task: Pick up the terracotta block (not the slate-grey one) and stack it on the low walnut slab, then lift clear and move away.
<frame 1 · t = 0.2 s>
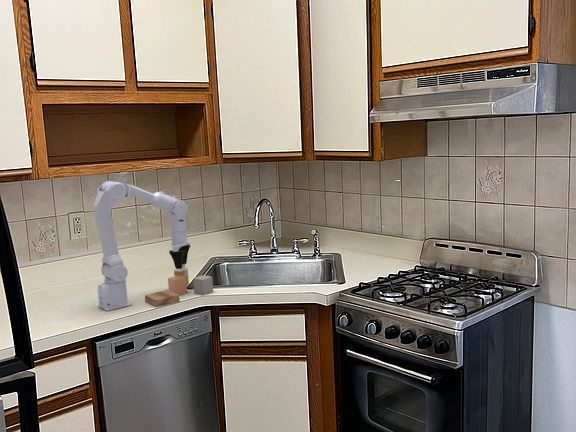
hand: (181, 266, 220), 10 cm above the worktop, tool pointing down, fingers open, 7 cm apart
terracotta block: (178, 293, 219), on the worktop
walnut slab: (162, 303, 208), on the worktop
supplement bottle: (182, 286, 228), on the worktop
slate block: (203, 292, 217), on the worktop
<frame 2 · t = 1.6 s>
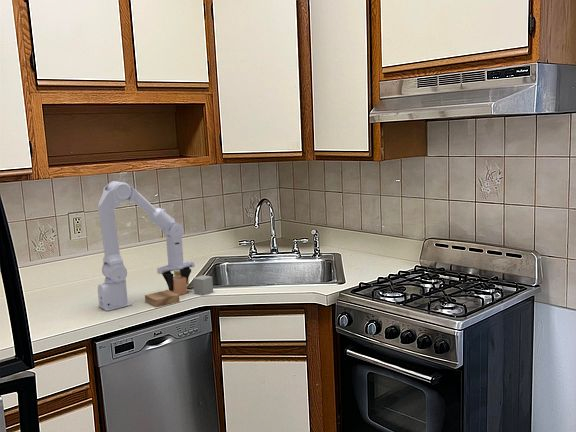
hand: (177, 288, 218), 2 cm above the worktop, tool pointing down, fingers closed on terracotta block, 5 cm apart
terracotta block: (178, 293, 219), on the worktop, touching gripper
everything else where it was.
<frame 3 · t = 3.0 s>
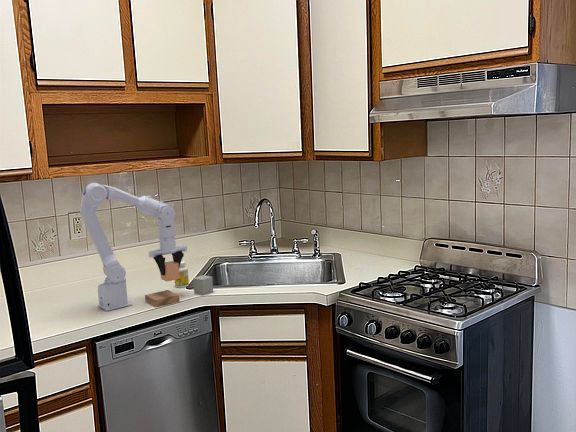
hand: (169, 273, 213), 9 cm above the worktop, tool pointing down, fingers closed on terracotta block, 5 cm apart
terracotta block: (170, 279, 213), point 7 cm above the worktop, touching gripper
everything else where it was.
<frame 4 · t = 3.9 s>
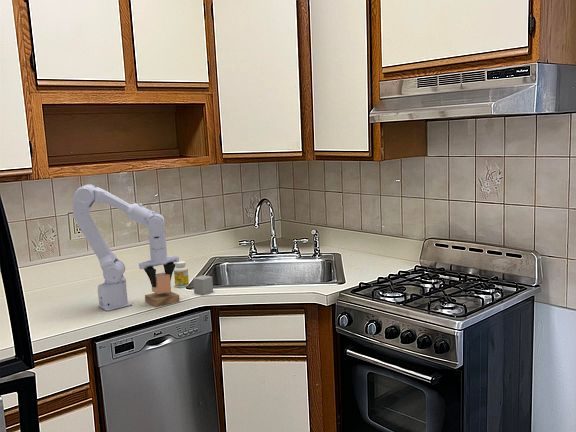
hand: (161, 285, 207), 6 cm above the worktop, tool pointing down, fingers closed on terracotta block, 5 cm apart
terracotta block: (161, 291, 208), point 4 cm above the worktop, touching gripper
everything else where it was.
when the fingers open (6 cm above the worktop, at t = 4.5 s): terracotta block stays where it is, resting on walnut slab.
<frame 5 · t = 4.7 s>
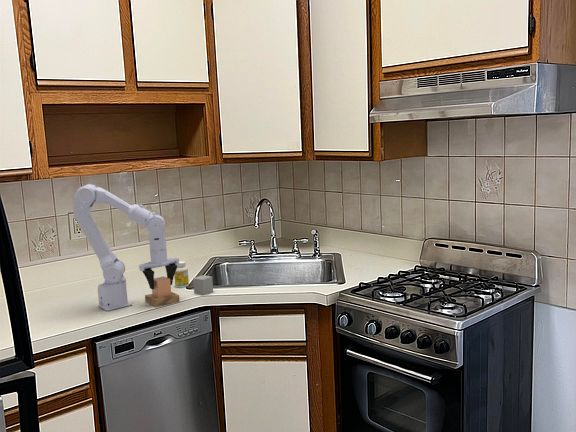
hand: (161, 286, 207), 6 cm above the worktop, tool pointing down, fingers open, 6 cm apart
terracotta block: (161, 295, 208), point 2 cm above the worktop, touching walnut slab
walnut slab: (162, 303, 208), on the worktop, touching terracotta block
everything else where it was.
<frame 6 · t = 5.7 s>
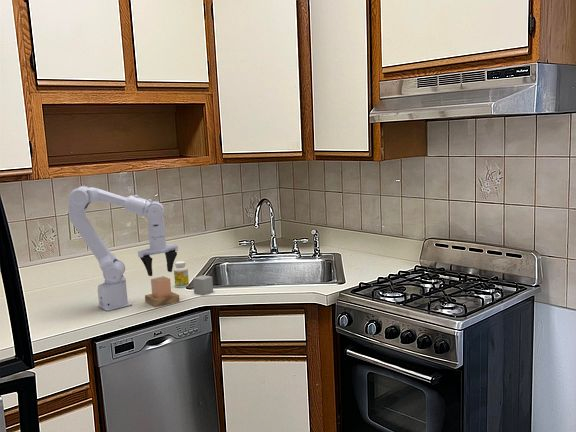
hand: (160, 273, 207), 10 cm above the worktop, tool pointing down, fingers open, 7 cm apart
terracotta block: (161, 295, 208), point 3 cm above the worktop
walnut slab: (162, 303, 208), on the worktop
everything else where it was.
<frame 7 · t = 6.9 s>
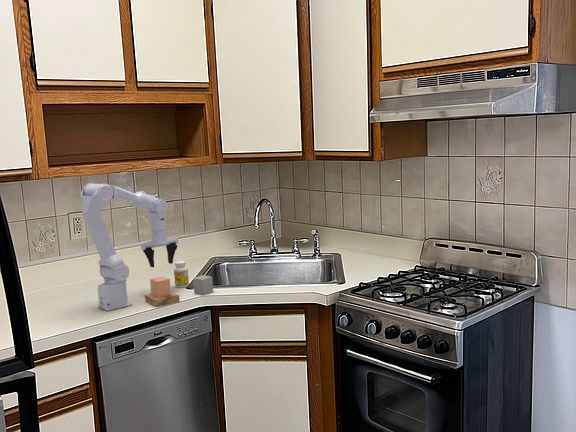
hand: (161, 265, 220), 10 cm above the worktop, tool pointing down, fingers open, 7 cm apart
terracotta block: (161, 295, 208), point 2 cm above the worktop, touching walnut slab
walnut slab: (162, 303, 208), on the worktop, touching terracotta block
everything else where it was.
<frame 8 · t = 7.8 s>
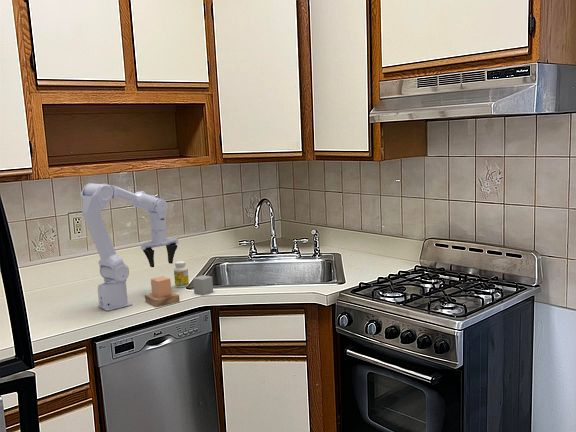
hand: (161, 265, 220), 10 cm above the worktop, tool pointing down, fingers open, 7 cm apart
nothing on the worktop moved.
at the end: terracotta block inside the target area on the walnut slab (0.2 cm from its centre), point 3.0 cm above the walnut slab's base; terracotta block tilted 1°; terracotta block touching walnut slab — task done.
